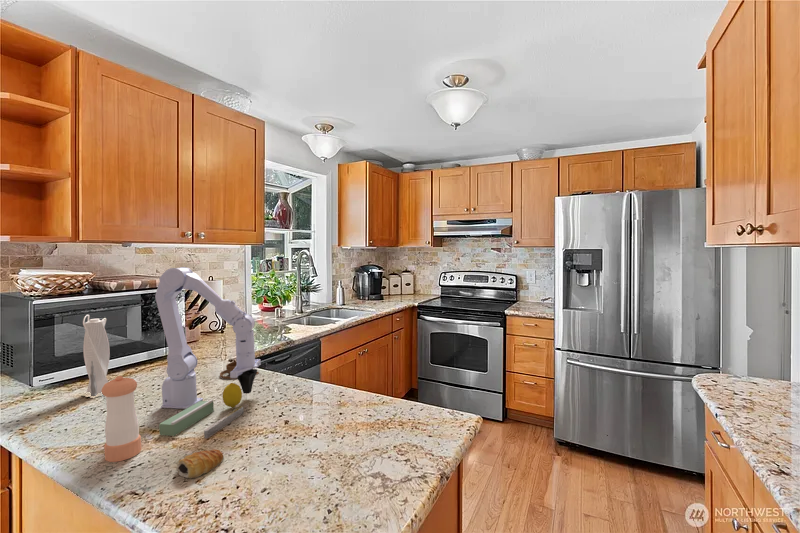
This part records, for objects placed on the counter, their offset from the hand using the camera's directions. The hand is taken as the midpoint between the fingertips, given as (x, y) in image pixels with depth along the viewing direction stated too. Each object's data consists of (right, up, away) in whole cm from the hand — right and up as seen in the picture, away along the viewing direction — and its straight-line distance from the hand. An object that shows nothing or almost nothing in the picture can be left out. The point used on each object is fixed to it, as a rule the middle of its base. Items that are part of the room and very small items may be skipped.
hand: (247, 392), depth 130 cm
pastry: (+5, -4, -42) cm, 42 cm away
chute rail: (+1, -3, -19) cm, 20 cm away
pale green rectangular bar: (-10, -3, -17) cm, 20 cm away
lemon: (-1, -3, -8) cm, 8 cm away
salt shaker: (-17, -4, -34) cm, 38 cm away
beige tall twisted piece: (-56, -3, +9) cm, 57 cm away
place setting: (-14, -2, +30) cm, 33 cm away
